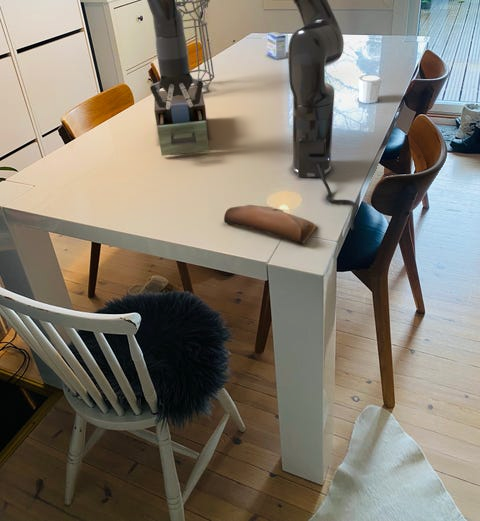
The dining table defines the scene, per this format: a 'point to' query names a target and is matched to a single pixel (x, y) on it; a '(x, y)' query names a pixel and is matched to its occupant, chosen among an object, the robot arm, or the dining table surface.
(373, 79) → the white short cylinder
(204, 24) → the geometric lantern
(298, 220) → the sunglasses case
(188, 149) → the drawer
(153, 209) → the dining table surface
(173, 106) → the block
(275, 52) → the medicine box
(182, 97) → the cabinet
